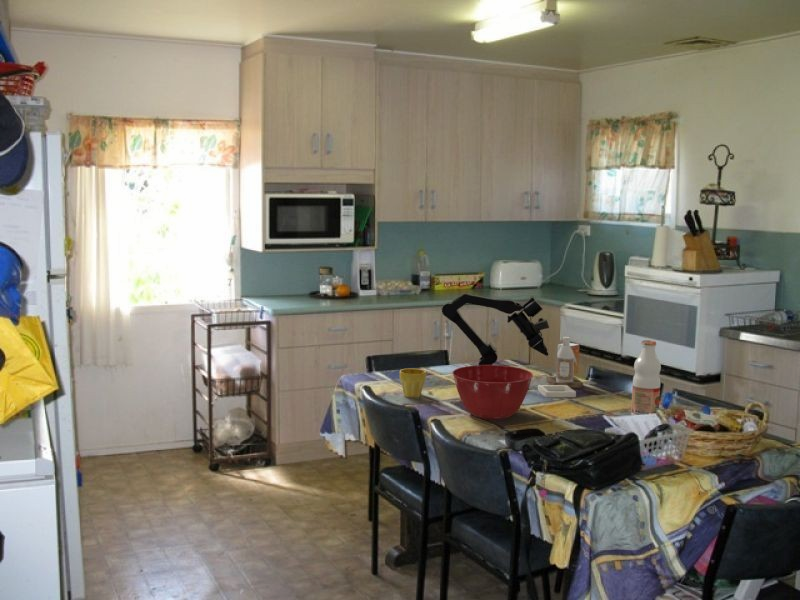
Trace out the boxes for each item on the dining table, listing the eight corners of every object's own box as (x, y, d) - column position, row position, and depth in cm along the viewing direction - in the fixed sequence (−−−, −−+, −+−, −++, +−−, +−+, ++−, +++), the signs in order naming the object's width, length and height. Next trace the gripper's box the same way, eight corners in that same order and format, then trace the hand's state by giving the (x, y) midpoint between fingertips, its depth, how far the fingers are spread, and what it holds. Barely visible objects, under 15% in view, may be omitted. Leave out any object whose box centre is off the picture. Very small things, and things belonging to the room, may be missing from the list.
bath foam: (554, 385, 345) (556, 337, 343) (556, 381, 352) (558, 335, 349) (571, 386, 343) (574, 339, 341) (573, 383, 350) (575, 336, 347)
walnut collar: (554, 387, 341) (554, 382, 341) (546, 381, 353) (546, 376, 353) (582, 387, 342) (583, 382, 342) (573, 381, 354) (574, 376, 354)
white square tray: (545, 397, 324) (546, 392, 324) (537, 390, 336) (538, 385, 336) (575, 397, 326) (576, 392, 325) (566, 389, 337) (566, 385, 337)
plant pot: (426, 398, 318) (427, 373, 317) (400, 398, 318) (400, 373, 316) (424, 392, 329) (424, 368, 327) (398, 392, 328) (398, 368, 327)
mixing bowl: (475, 429, 278) (476, 384, 276) (437, 408, 304) (438, 367, 302) (546, 421, 290) (548, 378, 288) (504, 402, 316) (506, 362, 314)
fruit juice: (627, 415, 300) (631, 338, 296) (652, 415, 300) (657, 339, 297) (635, 422, 291) (640, 343, 287) (662, 422, 291) (666, 343, 287)
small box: (568, 375, 365) (569, 346, 363) (556, 373, 370) (557, 344, 368) (578, 373, 371) (579, 344, 369) (566, 370, 375) (568, 342, 373)
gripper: (540, 315, 337) (564, 345, 337) (538, 309, 355) (561, 337, 355) (518, 332, 339) (542, 362, 339) (517, 325, 357) (540, 353, 357)
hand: (547, 353), depth 348 cm, fingers open, 9 cm apart
